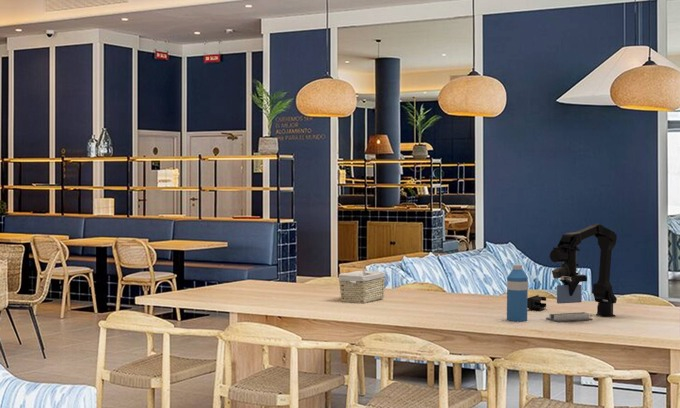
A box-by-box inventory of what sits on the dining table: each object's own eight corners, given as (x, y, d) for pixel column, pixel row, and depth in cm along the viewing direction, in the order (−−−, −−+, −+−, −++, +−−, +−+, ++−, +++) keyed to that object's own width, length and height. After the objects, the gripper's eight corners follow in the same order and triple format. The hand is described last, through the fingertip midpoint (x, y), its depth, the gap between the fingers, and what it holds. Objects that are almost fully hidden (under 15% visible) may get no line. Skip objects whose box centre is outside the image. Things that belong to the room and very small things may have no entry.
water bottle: (524, 318, 429) (525, 264, 428) (529, 321, 420) (530, 265, 419) (504, 318, 429) (505, 264, 428) (508, 321, 419) (509, 265, 419)
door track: (579, 317, 434) (579, 311, 434) (592, 320, 424) (592, 314, 424) (546, 319, 427) (546, 313, 427) (558, 322, 418) (558, 316, 418)
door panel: (579, 301, 428) (579, 284, 428) (581, 302, 427) (581, 284, 427) (556, 303, 424) (556, 285, 424) (558, 303, 423) (558, 285, 422)
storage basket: (364, 304, 478) (364, 275, 477) (336, 301, 486) (337, 273, 486) (386, 299, 498) (386, 271, 498) (360, 297, 507) (360, 269, 506)
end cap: (532, 308, 465) (532, 294, 465) (546, 309, 461) (546, 295, 461) (525, 310, 457) (525, 296, 457) (539, 311, 453) (539, 297, 453)
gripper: (543, 260, 431) (542, 294, 431) (566, 263, 414) (566, 298, 414) (563, 259, 435) (563, 293, 435) (588, 262, 417) (587, 297, 418)
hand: (569, 295), depth 426 cm, fingers closed on door panel, 2 cm apart
